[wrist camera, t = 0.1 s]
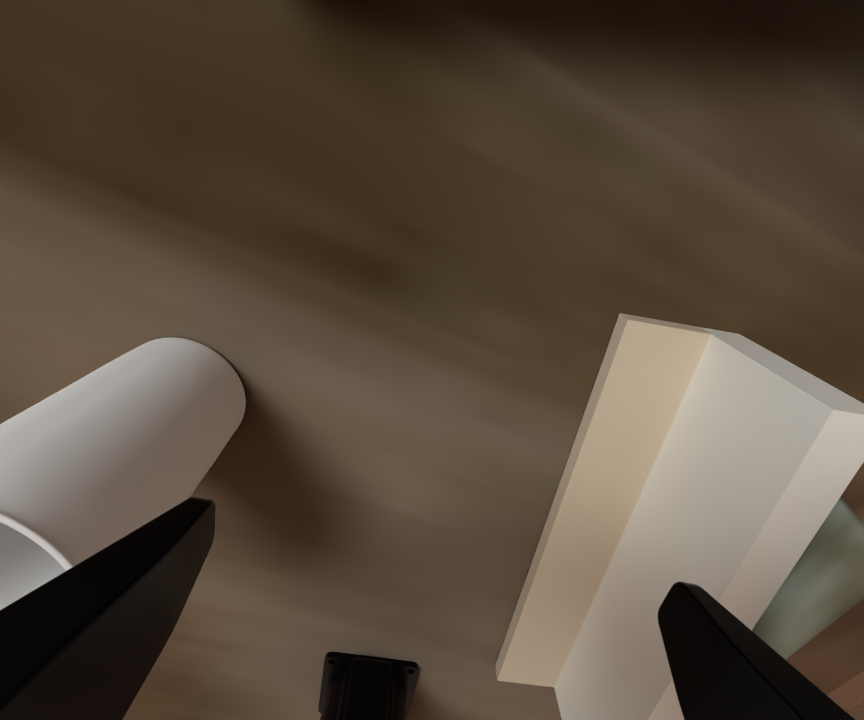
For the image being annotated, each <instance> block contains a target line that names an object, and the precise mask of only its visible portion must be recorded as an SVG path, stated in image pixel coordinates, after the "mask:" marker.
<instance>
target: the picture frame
mask: <svg viewBox="0 0 864 720" xmlns="http://www.w3.org/2000/svg"><path fill="white" fill-rule="evenodd" d="M752 631H753V632H754V633H755V634H756V635H757V636H758V637H760V638H761V639H762V640H763V641H764V642H765V643H767V644H768V645H769V646H770V647H771V648H772V649H774V650H775V651H776V652H777V653H778V654H779V655H781V656H782V657H783V658H784V659H785V660H786V661H787V662H789V663H790V664H791V665H792V666H793V667H794V668H796V669H797V670H798V671H799V672H800V673H801V674H803V675H804V676H805V677H806V678H807V679H808V680H810V681H811V682H812V683H813V684H814V685H815V686H817V687H818V688H819V689H820V690H821V691H822V692H824V693H825V694H826V695H827V696H828V697H829V698H830V699H832V700H833V701H834V702H835V703H836V704H837V705H839V706H840V707H841V708H842V709H843V710H844V711H846V712H848V711H850V710H851V709H853V708H854V707H856V706H858V705H859V704H861V703H863V702H864V462H863V464H862V465H861V467H860V468H859V470H858V471H857V473H856V474H855V476H854V477H853V479H852V480H851V482H850V483H849V485H848V486H847V488H846V489H845V491H844V492H843V494H842V495H841V497H840V498H839V500H838V501H837V503H836V504H835V506H834V507H833V509H832V510H831V512H830V513H829V515H828V516H827V518H826V519H825V521H824V522H823V524H822V525H821V527H820V528H819V530H818V531H817V533H816V534H815V536H814V537H813V539H812V540H811V542H810V543H809V545H808V546H807V548H806V549H805V551H804V552H803V554H802V555H801V557H800V558H799V560H798V561H797V563H796V564H795V566H794V567H793V569H792V571H791V572H790V574H789V575H788V577H787V578H786V580H785V581H784V583H783V584H782V586H781V587H780V589H779V590H778V592H777V593H776V595H775V596H774V598H773V599H772V601H771V602H770V604H769V605H768V607H767V608H766V610H765V611H764V613H763V614H762V616H761V617H760V619H759V620H758V622H757V623H756V625H755V626H754V628H753V629H752Z"/></svg>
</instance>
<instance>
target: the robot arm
mask: <svg viewBox="0 0 864 720" xmlns="http://www.w3.org/2000/svg"><path fill="white" fill-rule="evenodd" d="M214 531H215V503H214V501H212V500H209V499H203V498H198V497H191V498H188V499H186V500H185V501H183V502H181V503H180V504H178V505H176V506H175V507H173V508H171V509H170V510H168V511H166V512H164V513H163V514H161V515H159V516H158V517H156V518H154V519H153V520H151V521H149V522H148V523H146V524H144V525H143V526H141V527H139V528H138V529H136V530H134V531H132V532H131V533H129V534H127V535H126V536H124V537H122V538H121V539H119V540H117V541H116V542H114V543H112V544H111V545H109V546H107V547H106V548H104V549H102V550H100V551H99V552H97V553H95V554H94V555H92V556H90V557H89V558H87V559H85V560H84V561H82V562H80V563H79V564H77V565H75V566H74V567H72V568H70V569H68V570H67V571H65V572H63V573H62V574H60V575H58V576H57V577H55V578H53V579H52V580H50V581H48V582H47V583H45V584H43V585H42V586H40V587H38V588H36V589H35V590H33V591H31V592H30V593H28V594H26V595H25V596H23V597H21V598H20V599H18V600H16V601H15V602H13V603H11V604H9V605H8V606H6V607H4V608H3V609H1V610H0V720H122V719H123V717H124V716H125V714H126V712H127V710H128V709H129V707H130V705H131V704H132V702H133V700H134V698H135V697H136V695H137V693H138V691H139V690H140V688H141V686H142V684H143V683H144V681H145V679H146V677H147V676H148V674H149V672H150V671H151V669H152V667H153V665H154V664H155V662H156V660H157V658H158V657H159V655H160V653H161V651H162V650H163V648H164V646H165V644H166V643H167V641H168V639H169V637H170V635H171V633H172V632H173V630H174V627H175V625H176V623H177V621H178V619H179V617H180V615H181V612H182V610H183V608H184V606H185V604H186V601H187V599H188V597H189V595H190V592H191V590H192V588H193V586H194V584H195V581H196V579H197V577H198V575H199V572H200V570H201V568H202V566H203V563H204V561H205V559H206V557H207V555H208V552H209V550H210V548H211V545H212V542H213V539H214ZM658 624H659V628H660V632H661V636H662V639H663V643H664V647H665V651H666V655H667V659H668V663H669V667H670V670H671V674H672V678H673V682H674V686H675V690H676V694H677V697H678V701H679V704H680V708H681V711H682V714H683V717H684V720H855V719H854V718H853V717H851V716H850V715H849V714H848V713H847V712H846V711H844V710H843V709H842V708H841V707H840V706H839V705H837V704H836V703H835V702H834V701H833V700H832V699H830V698H829V697H828V696H827V695H826V694H825V693H824V692H822V691H821V690H820V689H819V688H818V687H817V686H815V685H814V684H813V683H812V682H811V681H810V680H808V679H807V678H806V677H805V676H804V675H803V674H801V673H800V672H799V671H798V670H797V669H796V668H794V667H793V666H792V665H791V664H790V663H789V662H787V661H786V660H785V659H784V658H783V657H782V656H781V655H779V654H778V653H777V652H776V651H775V650H774V649H772V648H771V647H770V646H769V645H768V644H767V643H765V642H764V641H763V640H762V639H761V638H760V637H758V636H757V635H756V634H755V633H754V632H753V631H751V630H750V629H749V628H748V627H747V626H746V625H745V624H743V623H742V622H741V621H740V620H739V619H738V618H736V617H735V616H734V615H733V614H732V613H731V612H729V611H728V610H727V609H726V608H725V607H724V606H722V605H721V604H720V603H719V602H718V601H717V600H715V599H714V598H713V597H712V596H711V595H710V594H709V593H707V592H706V591H705V590H704V589H703V588H701V587H700V586H698V585H696V584H692V583H686V582H676V583H674V584H673V585H672V587H671V588H670V590H669V592H668V593H667V595H666V597H665V599H664V600H663V602H662V604H661V605H660V607H659V610H658ZM417 675H418V664H417V663H415V662H411V661H403V660H395V659H387V658H379V657H371V656H363V655H355V654H347V653H339V652H329V653H327V654H326V657H325V661H324V669H323V677H322V685H321V693H320V701H319V709H318V710H319V712H320V713H321V718H320V720H406V718H407V714H408V710H409V706H410V702H411V698H412V694H413V691H414V687H415V683H416V679H417Z"/></svg>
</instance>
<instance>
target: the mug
mask: <svg viewBox="0 0 864 720" xmlns="http://www.w3.org/2000/svg"><path fill="white" fill-rule="evenodd" d="M245 407H246V397H245V392H244V388H243V385H242V382H241V380H240V378H239V376H238V375H237V373H236V372H235V370H234V369H233V367H232V366H231V365H230V364H229V363H228V362H227V361H226V360H225V359H224V358H223V357H222V356H221V355H219V354H218V353H217V352H215V351H214V350H212V349H210V348H209V347H207V346H205V345H203V344H200V343H198V342H195V341H192V340H188V339H183V338H161V339H156V340H152V341H149V342H147V343H145V344H143V345H141V346H139V347H137V348H135V349H133V350H131V351H129V352H128V353H126V354H124V355H122V356H120V357H118V358H116V359H115V360H113V361H111V362H109V363H107V364H106V365H104V366H102V367H100V368H99V369H97V370H95V371H93V372H92V373H90V374H88V375H86V376H85V377H83V378H81V379H79V380H78V381H76V382H74V383H72V384H71V385H69V386H67V387H65V388H64V389H62V390H60V391H58V392H57V393H55V394H53V395H51V396H49V397H48V398H46V399H44V400H42V401H41V402H39V403H37V404H35V405H34V406H32V407H30V408H28V409H26V410H25V411H23V412H21V413H19V414H18V415H16V416H14V417H12V418H10V419H9V420H7V421H5V422H3V423H2V424H0V610H1V609H3V608H4V607H6V606H8V605H9V604H11V603H13V602H15V601H16V600H18V599H20V598H21V597H23V596H25V595H26V594H28V593H30V592H31V591H33V590H35V589H36V588H38V587H40V586H42V585H43V584H45V583H47V582H48V581H50V580H52V579H53V578H55V577H57V576H58V575H60V574H62V573H63V572H65V571H67V570H68V569H70V568H72V567H74V566H75V565H77V564H79V563H80V562H82V561H84V560H85V559H87V558H89V557H90V556H92V555H94V554H95V553H97V552H99V551H100V550H102V549H104V548H106V547H107V546H109V545H111V544H112V543H114V542H116V541H117V540H119V539H121V538H122V537H124V536H126V535H127V534H129V533H131V532H132V531H134V530H136V529H138V528H139V527H141V526H143V525H144V524H146V523H148V522H149V521H151V520H153V519H154V518H156V517H158V516H159V515H161V514H163V513H164V512H166V511H168V510H170V509H171V508H173V507H175V506H176V505H178V504H180V503H181V502H183V501H185V500H186V499H188V498H189V497H190V496H191V495H192V493H193V492H194V490H195V489H196V487H197V486H198V485H199V483H200V482H201V480H202V479H203V478H204V476H205V475H206V473H207V472H208V471H209V469H210V468H211V466H212V465H213V464H214V462H215V461H216V459H217V458H218V456H219V455H220V453H221V452H222V450H223V449H224V447H225V446H226V444H227V443H228V441H229V440H230V438H231V437H232V435H233V434H234V432H235V431H236V430H237V428H238V427H239V425H240V423H241V421H242V419H243V416H244V413H245Z"/></svg>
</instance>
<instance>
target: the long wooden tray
mask: <svg viewBox="0 0 864 720" xmlns="http://www.w3.org/2000/svg"><path fill="white" fill-rule="evenodd" d="M863 462H864V404H863V403H861V402H860V401H858V400H856V399H854V398H852V397H851V396H849V395H847V394H845V393H844V392H842V391H840V390H838V389H836V388H835V387H833V386H831V385H829V384H827V383H826V382H824V381H822V380H820V379H819V378H817V377H815V376H813V375H811V374H810V373H808V372H806V371H804V370H802V369H801V368H799V367H797V366H795V365H794V364H792V363H790V362H788V361H786V360H785V359H783V358H781V357H779V356H778V355H776V354H774V353H772V352H770V351H769V350H767V349H765V348H763V347H761V346H760V345H758V344H756V343H754V342H753V341H751V340H749V339H747V338H745V337H744V336H742V335H740V334H736V333H730V332H725V331H719V330H713V329H708V328H702V327H696V326H690V325H685V324H679V323H673V322H668V321H662V320H656V319H650V318H645V317H639V316H633V315H628V314H622V313H620V314H619V316H618V319H617V322H616V325H615V328H614V331H613V333H612V336H611V339H610V342H609V345H608V348H607V351H606V353H605V356H604V359H603V362H602V365H601V368H600V370H599V373H598V376H597V379H596V382H595V385H594V387H593V390H592V393H591V396H590V399H589V402H588V404H587V407H586V410H585V413H584V416H583V419H582V421H581V424H580V427H579V430H578V433H577V436H576V438H575V441H574V444H573V447H572V450H571V453H570V455H569V458H568V461H567V464H566V467H565V470H564V472H563V475H562V478H561V481H560V484H559V487H558V489H557V492H556V495H555V498H554V501H553V504H552V506H551V509H550V512H549V515H548V518H547V521H546V523H545V526H544V529H543V532H542V535H541V538H540V540H539V543H538V546H537V549H536V552H535V555H534V557H533V560H532V563H531V566H530V569H529V572H528V574H527V577H526V580H525V583H524V586H523V589H522V592H521V594H520V597H519V600H518V603H517V606H516V609H515V611H514V614H513V617H512V620H511V623H510V626H509V628H508V631H507V634H506V637H505V640H504V643H503V645H502V648H501V651H500V654H499V657H498V660H497V662H496V665H495V666H496V675H497V680H498V681H506V682H514V683H522V684H530V685H538V686H547V687H554V688H555V692H556V697H557V701H558V706H559V710H560V714H561V719H562V720H684V717H683V714H682V711H681V708H680V704H679V701H678V697H677V694H676V690H675V686H674V682H673V678H672V674H671V670H670V667H669V663H668V659H667V655H666V651H665V647H664V643H663V639H662V636H661V632H660V628H659V624H658V610H659V607H660V605H661V604H662V602H663V600H664V599H665V597H666V595H667V593H668V592H669V590H670V588H671V587H672V585H673V584H674V583H676V582H686V583H692V584H696V585H698V586H700V587H701V588H703V589H704V590H705V591H706V592H707V593H709V594H710V595H711V596H712V597H713V598H714V599H715V600H717V601H718V602H719V603H720V604H721V605H722V606H724V607H725V608H726V609H727V610H728V611H729V612H731V613H732V614H733V615H734V616H735V617H736V618H738V619H739V620H740V621H741V622H742V623H743V624H745V625H746V626H747V627H748V628H749V629H750V630H751V631H752V629H753V628H754V626H755V625H756V623H757V622H758V620H759V619H760V617H761V616H762V614H763V613H764V611H765V610H766V608H767V607H768V605H769V604H770V602H771V601H772V599H773V598H774V596H775V595H776V593H777V592H778V590H779V589H780V587H781V586H782V584H783V583H784V581H785V580H786V578H787V577H788V575H789V574H790V572H791V571H792V569H793V567H794V566H795V564H796V563H797V561H798V560H799V558H800V557H801V555H802V554H803V552H804V551H805V549H806V548H807V546H808V545H809V543H810V542H811V540H812V539H813V537H814V536H815V534H816V533H817V531H818V530H819V528H820V527H821V525H822V524H823V522H824V521H825V519H826V518H827V516H828V515H829V513H830V512H831V510H832V509H833V507H834V506H835V504H836V503H837V501H838V500H839V498H840V497H841V495H842V494H843V492H844V491H845V489H846V488H847V486H848V485H849V483H850V482H851V480H852V479H853V477H854V476H855V474H856V473H857V471H858V470H859V468H860V467H861V465H862V464H863Z"/></svg>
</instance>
